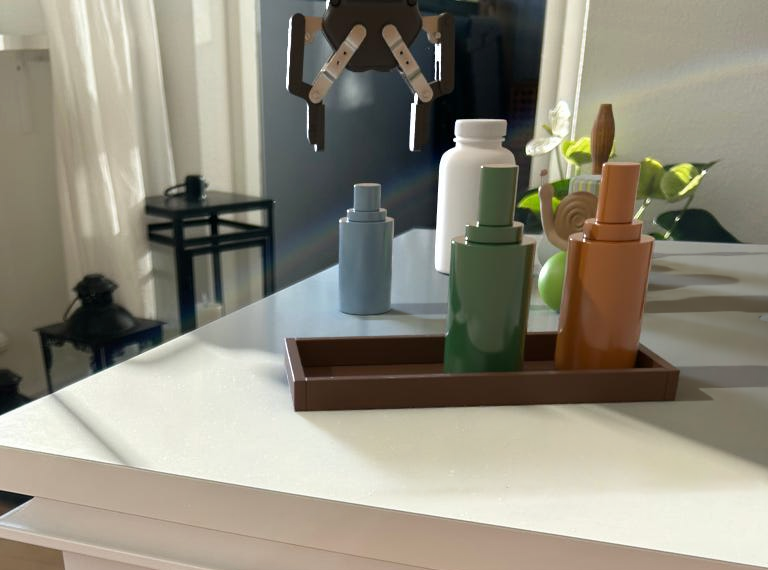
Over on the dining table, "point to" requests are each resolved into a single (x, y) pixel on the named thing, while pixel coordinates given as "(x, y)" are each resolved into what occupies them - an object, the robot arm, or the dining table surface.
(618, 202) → the amber bottle
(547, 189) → the snail figurine
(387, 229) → the blue bottle
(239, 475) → the dining table surface
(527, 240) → the green bottle
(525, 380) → the tray
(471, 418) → the dining table surface
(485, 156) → the pill bottle
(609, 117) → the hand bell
